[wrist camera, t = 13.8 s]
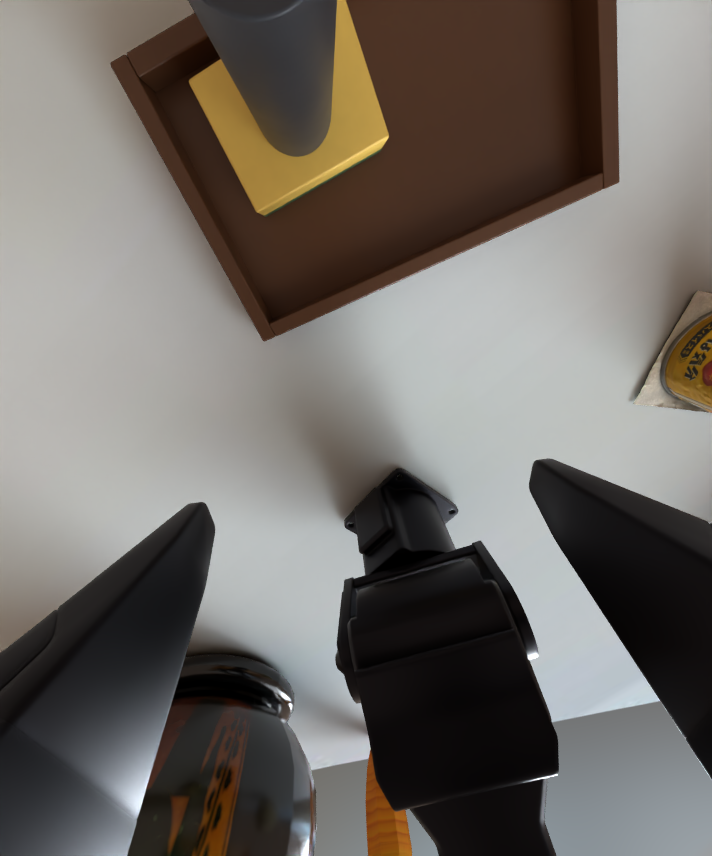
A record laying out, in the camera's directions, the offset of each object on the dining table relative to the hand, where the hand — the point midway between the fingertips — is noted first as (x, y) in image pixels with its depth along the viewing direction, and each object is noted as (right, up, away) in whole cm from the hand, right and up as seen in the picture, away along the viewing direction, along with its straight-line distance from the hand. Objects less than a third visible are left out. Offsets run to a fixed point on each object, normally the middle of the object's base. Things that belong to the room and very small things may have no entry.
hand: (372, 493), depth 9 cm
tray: (+1, +15, +6) cm, 16 cm away
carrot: (+2, -39, +36) cm, 53 cm away
